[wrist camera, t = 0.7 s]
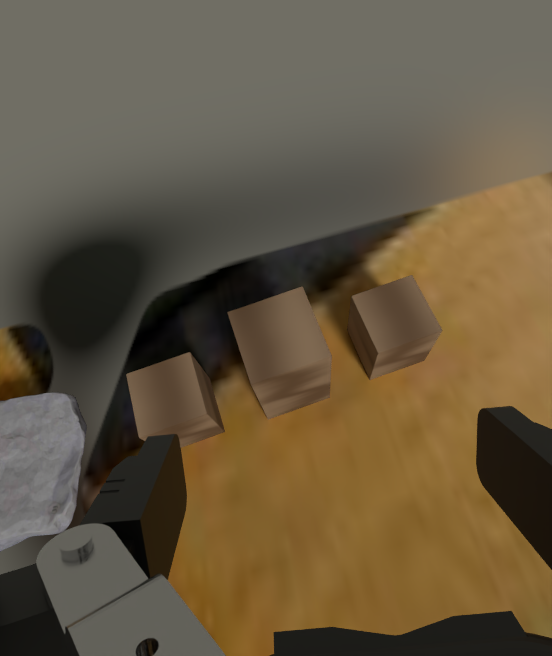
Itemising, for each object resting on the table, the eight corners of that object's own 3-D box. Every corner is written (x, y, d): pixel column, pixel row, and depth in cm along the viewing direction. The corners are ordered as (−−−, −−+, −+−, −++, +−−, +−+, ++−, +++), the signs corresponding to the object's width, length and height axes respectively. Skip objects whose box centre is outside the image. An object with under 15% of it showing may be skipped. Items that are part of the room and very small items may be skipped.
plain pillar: (307, 341, 41) (302, 286, 31) (329, 397, 38) (331, 355, 29) (248, 361, 40) (227, 312, 31) (268, 419, 38) (250, 384, 29)
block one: (397, 309, 41) (410, 272, 35) (424, 360, 39) (442, 330, 33) (346, 327, 41) (350, 293, 35) (369, 380, 39) (378, 353, 33)
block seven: (208, 375, 40) (189, 348, 34) (225, 431, 38) (206, 413, 32) (155, 394, 40) (125, 370, 34) (168, 452, 38) (139, 437, 32)
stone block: (91, 394, 43) (-25, 416, 41) (76, 377, 38) (-55, 402, 36) (103, 528, 38) (-28, 561, 36) (88, 527, 34) (-62, 564, 32)
